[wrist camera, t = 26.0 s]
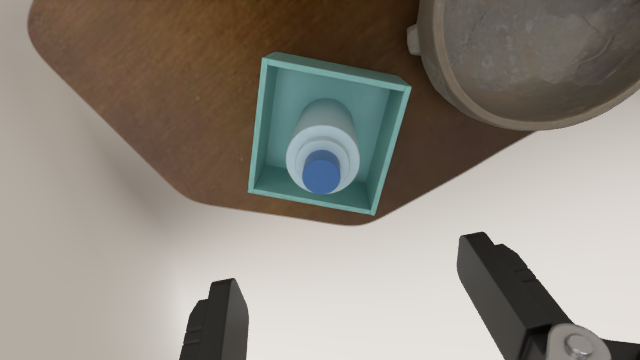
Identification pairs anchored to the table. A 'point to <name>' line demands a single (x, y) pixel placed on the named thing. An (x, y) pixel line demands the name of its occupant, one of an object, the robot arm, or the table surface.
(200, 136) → the table surface
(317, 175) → the bottle
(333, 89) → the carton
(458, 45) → the bowl
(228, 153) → the table surface
